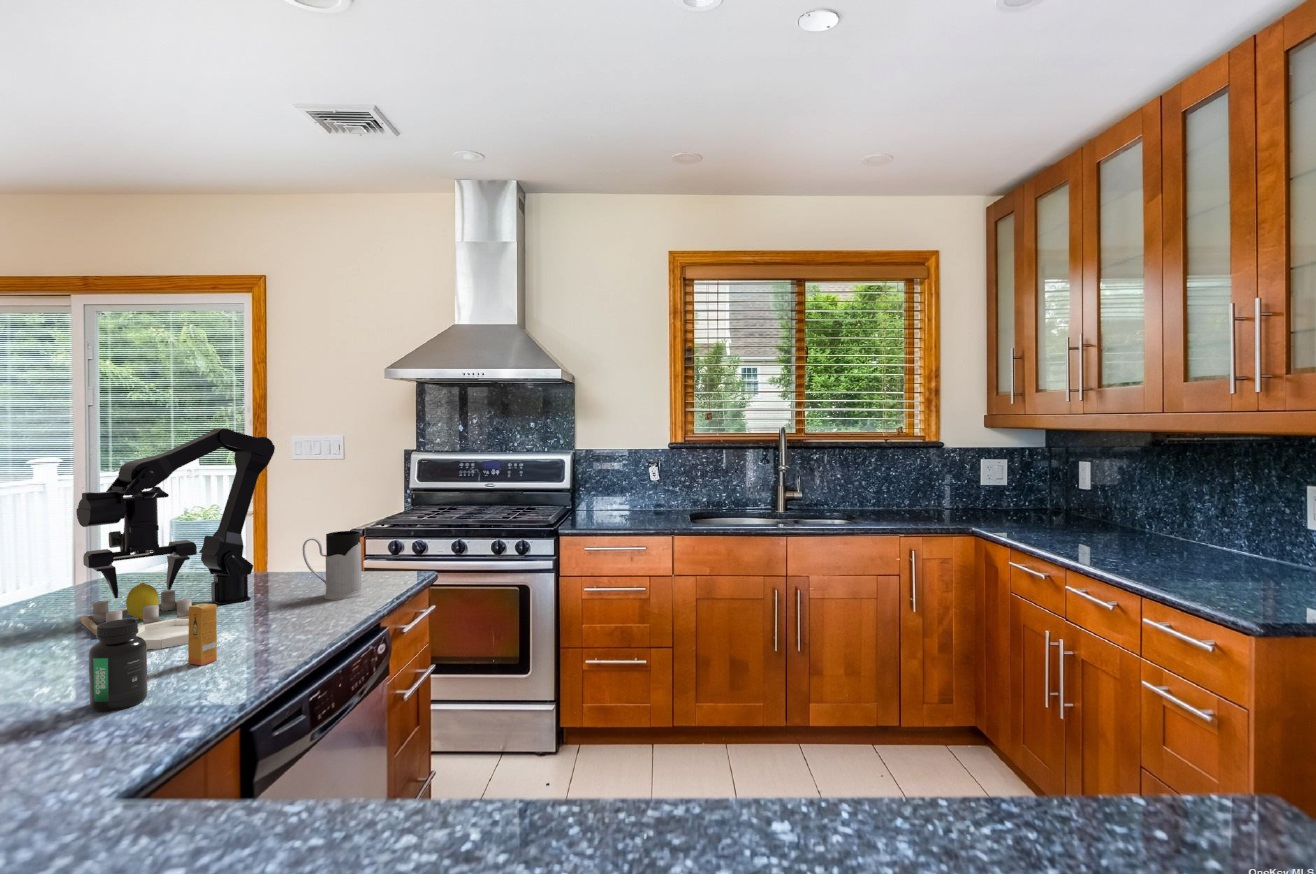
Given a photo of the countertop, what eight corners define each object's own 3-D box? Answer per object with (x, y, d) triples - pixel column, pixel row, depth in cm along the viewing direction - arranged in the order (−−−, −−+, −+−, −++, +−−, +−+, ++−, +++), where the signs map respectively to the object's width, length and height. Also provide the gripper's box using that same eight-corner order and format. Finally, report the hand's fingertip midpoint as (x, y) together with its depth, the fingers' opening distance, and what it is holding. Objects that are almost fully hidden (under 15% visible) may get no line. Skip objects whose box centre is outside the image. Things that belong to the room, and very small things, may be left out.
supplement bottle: (101, 716, 100) (99, 632, 99) (81, 706, 103) (79, 625, 103) (156, 700, 106) (154, 620, 105) (135, 691, 109) (133, 614, 109)
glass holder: (353, 599, 165) (353, 536, 165) (294, 599, 165) (293, 536, 165) (369, 590, 174) (368, 530, 174) (312, 590, 174) (312, 530, 174)
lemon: (165, 616, 151) (164, 580, 151) (144, 624, 146) (143, 586, 145) (141, 616, 152) (141, 579, 152) (119, 623, 146) (118, 585, 146)
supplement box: (219, 660, 123) (218, 603, 123) (201, 666, 120) (199, 608, 120) (205, 658, 124) (204, 602, 124) (186, 664, 121) (185, 606, 121)
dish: (198, 623, 146) (198, 614, 146) (221, 636, 137) (221, 627, 137) (115, 639, 135) (115, 630, 135) (133, 654, 126) (133, 645, 126)
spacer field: (180, 604, 161) (179, 587, 161) (205, 618, 149) (204, 600, 149) (80, 621, 148) (79, 602, 148) (98, 638, 136) (98, 618, 136)
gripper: (181, 512, 161) (182, 580, 161) (76, 522, 147) (78, 596, 147) (196, 517, 153) (198, 588, 154) (88, 527, 139) (90, 605, 140)
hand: (143, 593), depth 149 cm, fingers open, 9 cm apart
